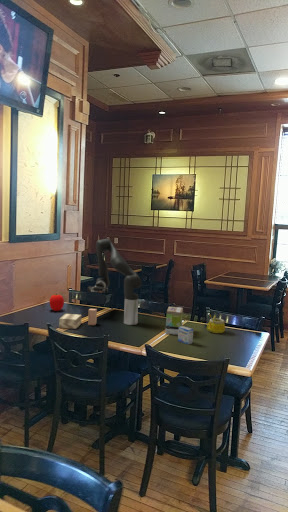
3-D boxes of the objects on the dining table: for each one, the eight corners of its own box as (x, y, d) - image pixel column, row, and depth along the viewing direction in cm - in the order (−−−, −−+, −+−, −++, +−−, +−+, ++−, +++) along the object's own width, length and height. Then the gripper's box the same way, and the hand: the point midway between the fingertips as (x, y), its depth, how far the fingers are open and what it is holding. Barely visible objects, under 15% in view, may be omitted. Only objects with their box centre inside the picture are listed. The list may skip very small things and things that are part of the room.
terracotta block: (96, 323, 249) (96, 308, 248) (94, 325, 245) (95, 310, 244) (89, 322, 250) (90, 308, 249) (88, 324, 245) (88, 310, 244)
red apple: (64, 312, 277) (65, 295, 276) (50, 312, 273) (50, 295, 272) (62, 308, 287) (62, 292, 286) (48, 309, 283) (48, 292, 282)
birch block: (81, 323, 247) (81, 314, 247) (75, 328, 234) (76, 319, 234) (65, 322, 248) (65, 313, 248) (59, 327, 235) (59, 318, 235)
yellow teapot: (218, 328, 248) (219, 311, 247) (227, 333, 238) (229, 315, 237) (202, 330, 243) (203, 312, 242) (210, 335, 233) (212, 316, 232)
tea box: (180, 335, 230) (182, 312, 229) (164, 333, 232) (166, 310, 230) (182, 328, 245) (183, 307, 244) (167, 327, 246) (168, 305, 245)
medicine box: (177, 341, 218) (178, 326, 217) (182, 339, 221) (183, 325, 220) (188, 344, 212) (188, 330, 212) (192, 343, 215) (193, 328, 215)
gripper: (90, 281, 271) (86, 285, 255) (109, 282, 271) (106, 287, 255) (90, 291, 272) (86, 296, 256) (109, 292, 272) (106, 297, 255)
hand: (96, 291), depth 255 cm, fingers open, 8 cm apart
